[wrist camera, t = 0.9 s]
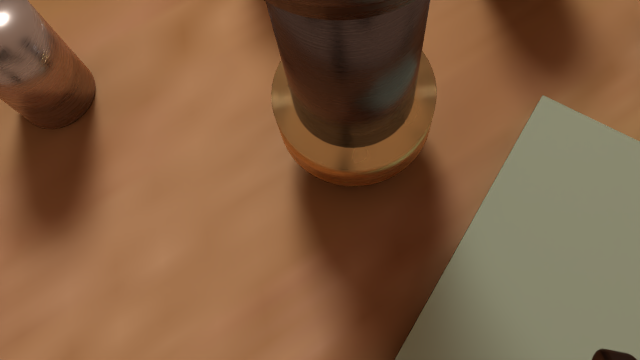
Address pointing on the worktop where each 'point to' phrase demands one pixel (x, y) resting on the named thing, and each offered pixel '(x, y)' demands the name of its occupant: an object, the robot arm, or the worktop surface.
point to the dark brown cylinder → (352, 86)
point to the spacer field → (40, 69)
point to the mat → (545, 252)
